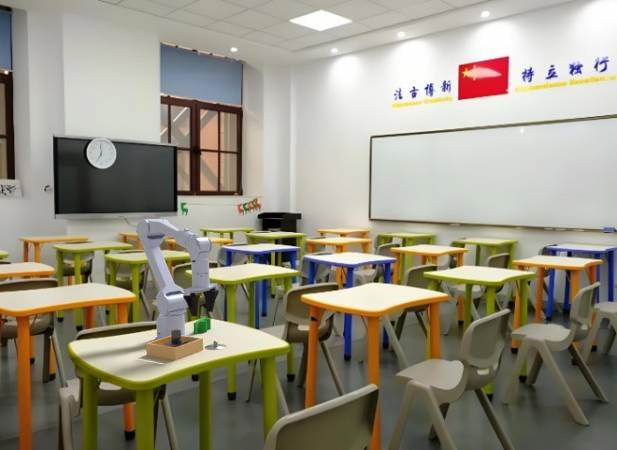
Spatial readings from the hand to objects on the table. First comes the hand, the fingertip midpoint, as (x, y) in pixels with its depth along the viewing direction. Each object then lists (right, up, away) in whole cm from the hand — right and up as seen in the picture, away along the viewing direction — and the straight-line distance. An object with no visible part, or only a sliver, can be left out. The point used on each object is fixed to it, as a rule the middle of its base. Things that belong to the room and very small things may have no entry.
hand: (202, 313), depth 168 cm
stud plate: (+5, -11, -4) cm, 12 cm away
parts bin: (-6, -11, -9) cm, 16 cm away
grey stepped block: (-6, -10, -10) cm, 15 cm away
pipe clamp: (-3, -10, +19) cm, 22 cm away
